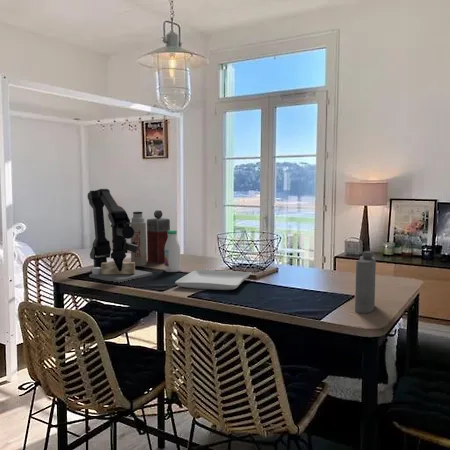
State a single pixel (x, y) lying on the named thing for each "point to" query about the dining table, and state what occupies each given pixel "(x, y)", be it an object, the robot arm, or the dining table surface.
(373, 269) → the flask
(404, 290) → the dining table surface
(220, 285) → the square plate
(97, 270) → the dark grey flat piece
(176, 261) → the milk bottle
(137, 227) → the thermos bottle
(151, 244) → the square decanter
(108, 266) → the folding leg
